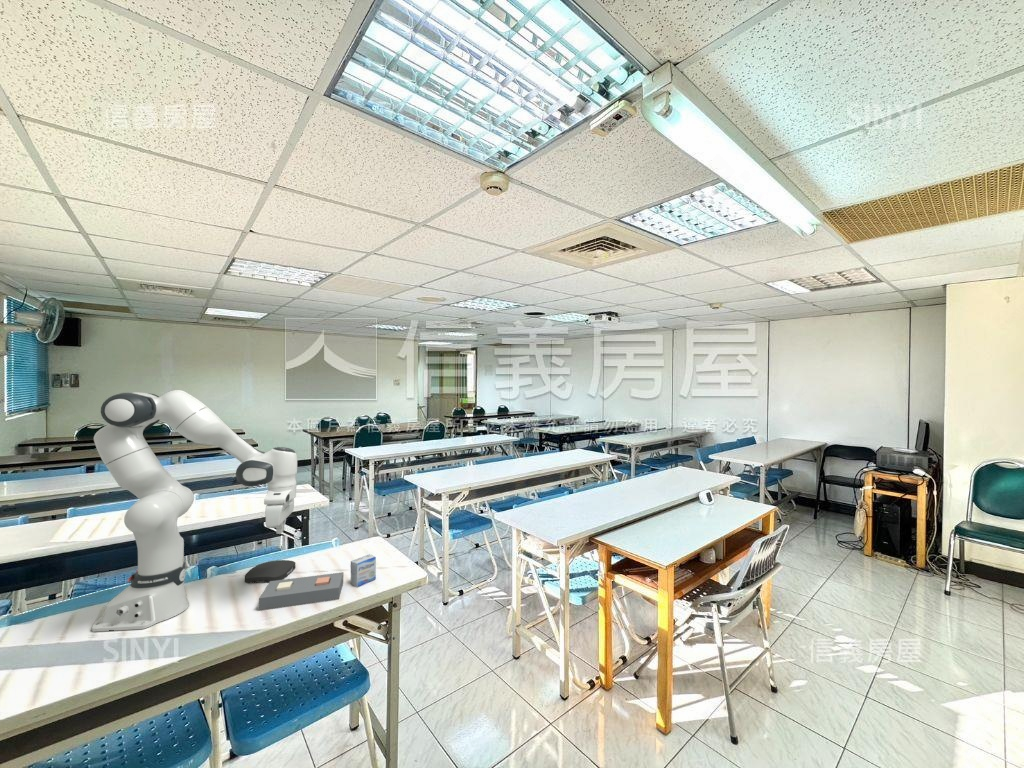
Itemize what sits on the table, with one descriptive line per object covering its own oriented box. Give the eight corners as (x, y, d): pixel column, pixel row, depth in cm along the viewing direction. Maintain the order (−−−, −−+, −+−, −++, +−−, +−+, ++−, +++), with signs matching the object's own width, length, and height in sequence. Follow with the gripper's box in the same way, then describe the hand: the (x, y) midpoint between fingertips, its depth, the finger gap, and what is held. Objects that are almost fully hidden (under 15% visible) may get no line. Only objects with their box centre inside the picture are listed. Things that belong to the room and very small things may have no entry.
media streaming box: (261, 567, 160) (261, 560, 160) (299, 566, 161) (299, 558, 161) (239, 585, 145) (239, 576, 145) (280, 583, 146) (280, 575, 146)
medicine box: (356, 587, 142) (357, 563, 142) (350, 584, 145) (350, 560, 145) (376, 579, 148) (376, 556, 149) (369, 576, 151) (369, 553, 151)
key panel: (258, 610, 127) (258, 598, 127) (270, 592, 139) (270, 581, 139) (338, 599, 134) (339, 587, 134) (343, 583, 146) (343, 572, 146)
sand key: (276, 597, 132) (276, 588, 132) (279, 591, 136) (279, 582, 136) (289, 595, 133) (289, 586, 133) (292, 589, 137) (292, 581, 137)
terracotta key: (315, 592, 136) (315, 583, 136) (317, 586, 139) (317, 578, 140) (328, 590, 137) (328, 581, 137) (329, 584, 141) (330, 576, 141)
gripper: (280, 486, 149) (279, 523, 149) (262, 501, 129) (260, 543, 129) (299, 486, 151) (297, 522, 150) (283, 500, 131) (281, 542, 131)
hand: (280, 532), depth 139 cm, fingers closed
